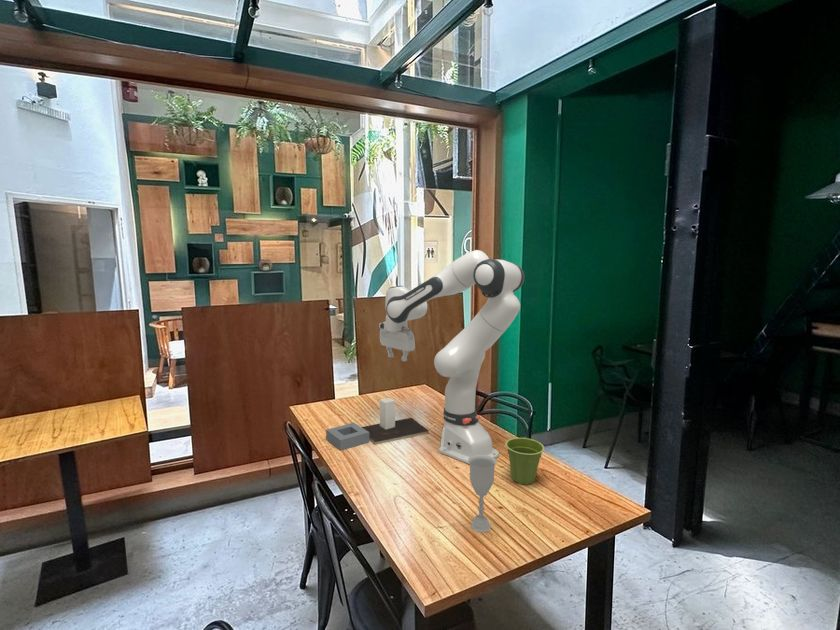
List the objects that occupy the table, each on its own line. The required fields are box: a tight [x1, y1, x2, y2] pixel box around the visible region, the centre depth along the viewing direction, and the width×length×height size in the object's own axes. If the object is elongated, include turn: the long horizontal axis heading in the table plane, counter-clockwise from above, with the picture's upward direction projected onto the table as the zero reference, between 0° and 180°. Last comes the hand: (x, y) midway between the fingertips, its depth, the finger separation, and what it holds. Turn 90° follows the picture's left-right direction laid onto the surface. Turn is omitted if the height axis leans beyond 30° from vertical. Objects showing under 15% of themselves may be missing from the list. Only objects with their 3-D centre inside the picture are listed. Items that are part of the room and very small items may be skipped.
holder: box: [325, 422, 370, 451], centre depth 164 cm, size 12×12×4 cm
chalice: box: [468, 455, 497, 533], centre depth 111 cm, size 7×7×18 cm
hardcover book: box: [361, 417, 429, 446], centre depth 173 cm, size 16×23×2 cm
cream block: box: [379, 397, 396, 429], centre depth 174 cm, size 4×4×11 cm
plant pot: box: [505, 437, 545, 485], centre depth 135 cm, size 12×12×11 cm
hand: (397, 359), depth 177 cm, fingers open, 8 cm apart
